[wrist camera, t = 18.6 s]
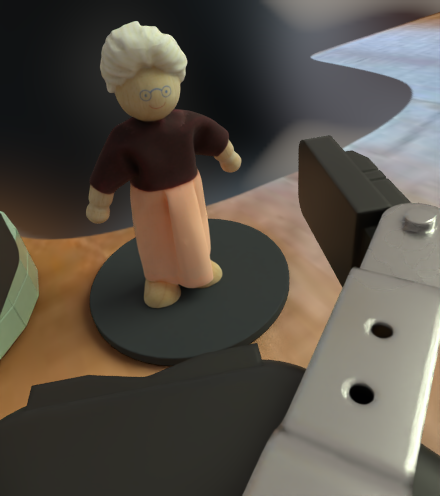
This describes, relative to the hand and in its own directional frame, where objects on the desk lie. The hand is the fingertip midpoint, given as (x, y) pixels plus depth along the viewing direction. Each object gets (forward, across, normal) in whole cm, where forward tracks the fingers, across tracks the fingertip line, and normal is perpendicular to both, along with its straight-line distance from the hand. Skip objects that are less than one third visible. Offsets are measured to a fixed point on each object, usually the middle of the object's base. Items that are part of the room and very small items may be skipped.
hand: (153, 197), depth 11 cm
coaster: (+8, 0, +10) cm, 13 cm away
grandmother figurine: (+8, 0, +10) cm, 13 cm away
